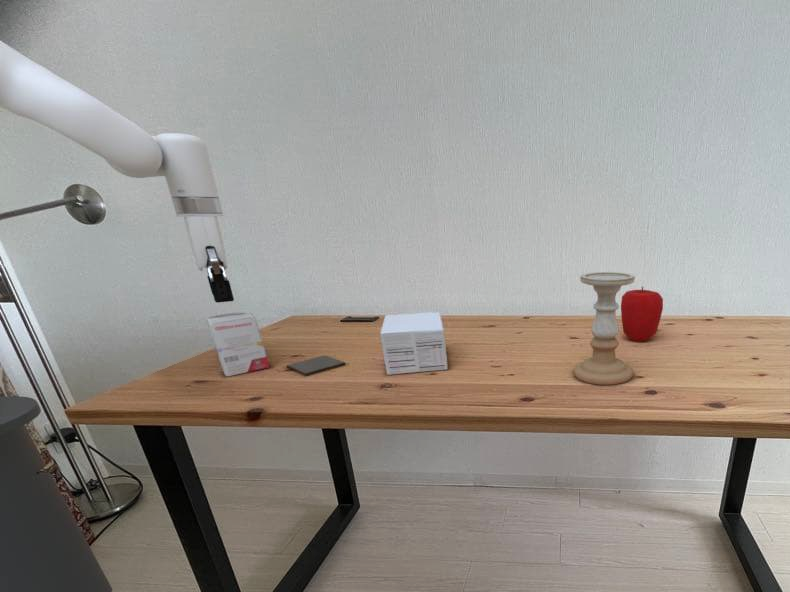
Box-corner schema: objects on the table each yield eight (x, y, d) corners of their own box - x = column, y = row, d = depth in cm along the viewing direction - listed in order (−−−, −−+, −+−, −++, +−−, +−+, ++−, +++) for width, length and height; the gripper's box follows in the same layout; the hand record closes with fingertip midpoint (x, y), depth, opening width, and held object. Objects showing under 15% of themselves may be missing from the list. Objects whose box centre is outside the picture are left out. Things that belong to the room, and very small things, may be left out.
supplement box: (390, 352, 112) (384, 314, 108) (444, 348, 114) (440, 311, 110) (385, 375, 97) (378, 332, 93) (448, 369, 99) (444, 327, 95)
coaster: (306, 375, 97) (305, 373, 97) (286, 367, 102) (286, 365, 102) (345, 364, 103) (344, 362, 103) (325, 357, 109) (324, 355, 108)
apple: (667, 340, 118) (673, 287, 112) (637, 346, 113) (641, 291, 107) (640, 331, 126) (644, 281, 120) (610, 337, 121) (613, 285, 116)
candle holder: (574, 385, 90) (576, 281, 82) (572, 365, 101) (574, 271, 93) (637, 385, 89) (645, 280, 81) (628, 365, 101) (635, 271, 92)
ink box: (266, 363, 105) (252, 312, 101) (270, 368, 102) (256, 316, 97) (222, 371, 101) (205, 318, 96) (224, 377, 97) (207, 322, 92)
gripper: (174, 208, 92) (199, 294, 99) (173, 208, 79) (202, 306, 86) (218, 208, 96) (240, 290, 103) (224, 208, 83) (248, 302, 90)
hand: (223, 298), depth 94 cm, fingers open, 9 cm apart
